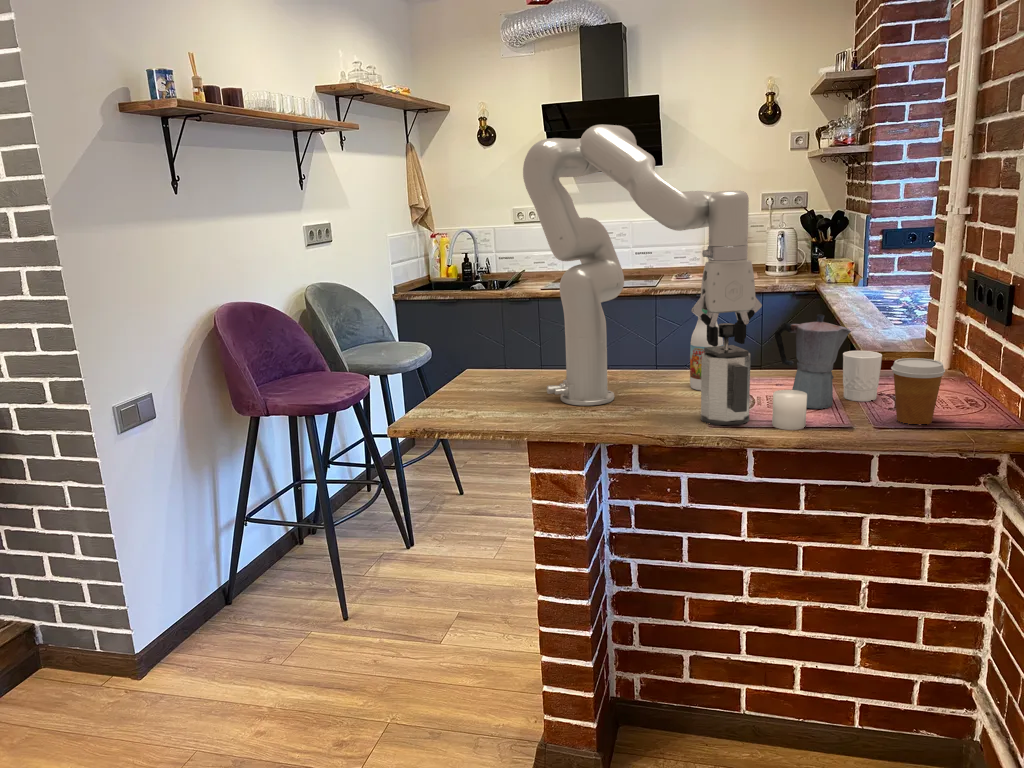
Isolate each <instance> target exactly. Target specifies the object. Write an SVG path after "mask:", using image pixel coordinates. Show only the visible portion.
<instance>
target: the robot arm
mask: <svg viewBox="0 0 1024 768" xmlns="http://www.w3.org/2000/svg"><path fill="white" fill-rule="evenodd" d="M523 161H524V162H523V168H522V178H523V182H524V186H525V189H526V192H527V194H528V196H529V198H530V201H531V202H532V204H533V207H534V208H535V211H536V213H537V216H538V220H539V223H540V225H541V228H542V230H543V233H544V235H545V237H546V241H547V244H548V246H549V248H550V251H551V253H552V254H553V256H554V257H555V259H557V260H558V261H561V262H573V261H574V262H575V261H580V263H579V264H576V265H573V266H571V267H570V268H568V269H567V270H565V272H564V273H563V275H562V276H561V278H560V282H559V294H560V296H559V297H560V300H561V304H562V309H563V317H564V334H565V335H564V336H565V337H564V339H565V340H564V341H565V369H566V370H565V371H566V372H565V373H566V379H562V382H560V383H559V384H558V385H555V384H552V385H551V384H550V385H547V386H546V393H547V394H548V395H549V394H555V396H556V395H560V401H562V402H563V403H565V404H568V405H573V406H585V407H586V406H588V407H589V406H598V405H604V404H608V403H611V402H613V400H614V399H615V393H614V392H613V391H611V390H609V389H608V350H607V349H608V346H607V345H608V344H607V342H608V341H607V339H608V338H607V321H606V320H607V319H606V316H605V313H604V310H603V307H602V303H604V302H608V301H611V300H614V299H616V298H617V297H618V296H619V295H620V294H621V292H623V289H624V286H625V275H624V272H623V267H622V265H621V263H620V260H619V258H618V255H617V253H616V250H615V246H614V244H613V243H612V239H611V237H610V234H609V232H608V231H607V228H606V227H605V226H604V225H603V224H602V223H601V221H599V220H597V219H595V218H593V217H580V215H579V213H578V211H577V209H576V207H575V204H574V202H573V198H572V197H571V195H570V193H569V192H568V190H567V189H566V188H565V187H564V185H563V184H562V182H561V181H560V178H579V177H584V176H589V175H592V174H595V173H599V172H602V173H603V174H604V175H606V176H608V177H609V178H610V179H611V180H613V181H614V182H616V183H617V184H618V185H620V186H621V187H622V188H624V189H625V190H626V191H628V193H629V195H630V197H631V198H632V200H633V202H634V203H635V204H636V205H637V206H638V207H639V208H640V210H642V212H644V213H645V214H647V215H648V216H649V217H651V218H653V220H655V221H656V222H658V223H659V224H661V225H662V226H664V227H666V228H667V229H670V230H672V231H677V232H678V231H679V232H681V231H682V232H683V231H688V230H695V229H702V228H708V246H707V249H703V250H702V252H701V255H702V257H703V258H706V259H707V260H708V261H705V263H704V268H703V272H702V279H701V287H700V297H699V299H698V300H697V301H696V303H695V304H694V305H693V307H692V308H691V313H693V314H694V315H695V316H696V317H697V318H698V317H699V318H700V319H701V320H702V321H703V322H704V324H705V325H707V341H708V344H709V345H712V346H717V345H718V327H716V322H717V323H718V318H719V315H720V314H725V313H734V314H735V316H736V317H735V318H736V322H735V323H734V324H735V334H734V337H733V338H734V342H736V343H738V344H741V345H745V342H746V341H745V340H746V339H747V325H748V324H749V323H750V320H751V319H752V318H753V317H754V316H755V314H756V313H757V312H758V311H760V309H761V308H762V306H763V304H762V303H761V302H760V300H759V299H758V298H757V296H756V285H755V284H756V282H755V273H754V268H753V262H752V260H750V259H749V260H748V246H749V245H748V243H749V209H750V208H749V206H750V204H749V202H750V201H749V200H750V199H749V195H748V193H747V192H746V191H743V190H722V191H721V190H720V191H714V192H713V191H707V190H689V191H681V190H679V189H678V188H676V187H675V186H673V185H672V184H671V183H669V182H668V181H666V180H665V179H664V178H662V177H661V176H660V175H659V174H658V173H657V172H656V171H655V168H656V160H655V158H654V156H653V155H652V154H651V153H649V152H647V150H644V149H643V148H642V147H640V146H639V145H637V139H636V136H635V135H634V133H633V132H632V131H631V130H630V129H629V128H628V127H625V126H622V125H617V124H615V125H614V124H595V125H592V126H589V128H587V129H586V130H585V131H584V132H583V133H582V135H581V138H562V137H552V138H545V139H541V140H539V141H537V142H535V143H534V144H533V145H532V146H531V147H530V148H529V150H528V151H527V153H526V155H525V158H524V160H523ZM702 309H704V310H708V311H707V314H705V313H704V312H703V311H702Z"/></svg>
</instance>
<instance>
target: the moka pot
mask: <svg viewBox="0 0 1024 768" xmlns="http://www.w3.org/2000/svg"><path fill="white" fill-rule="evenodd" d="M824 319H825V315H824V314H823V313H822V314H821V313H819V314H816V321H810V322H802V323H789V322H783V323H782V324H781V325H780V326H779V327H778V328H777V330H775V332H774V339H775V342H776V345H777V348H778V352H779V357H780V360H781V364H782V365H786V366H793V365H794V363H795V361H793V360H788V359H787V356H786V354H785V352H786V351H785V347H784V342H783V338H782V334H783V333H784V332H786V331H787V332H788V333H794V334H795V345H796V346H795V347H796V348H795V349H796V352H795V353H796V355H795V356H796V357H795V358H796V359H797V362H796V366H797V369H796V372H795V377H794V381H793V385H792V388H791V390H798V391H803V392H805V393H807V407H806V409H815V410H817V409H819V410H821V409H822V410H823V408H825V409H829V408H828V407H830V408H831V407H832V406H833V404H834V402H833V401H834V398H833V397H834V395H833V394H834V392H833V391H834V389H833V387H834V386H833V379H834V375H833V368H834V363H836V361H837V357H838V354H839V351H840V349H841V347H842V345H843V343H845V342H844V341H845V340H846V339H847V337H848V336H849V334H850V333H852V331H851V329H849V328H848V327H846V326H841V325H836V324H833V323H829V322H825V321H824Z"/></svg>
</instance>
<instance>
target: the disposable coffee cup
mask: <svg viewBox="0 0 1024 768" xmlns="http://www.w3.org/2000/svg"><path fill="white" fill-rule="evenodd" d="M890 369H891V370H892V373H893V382H894V383H893V384H894V399H895V412H896V413H895V414H896V421H897V420H898V421H897V422H899V421H900V422H899V423H901V422H903V423H902V424H904V423H908V424H907V425H909V424H927V425H931V424H932V422H933V419H934V413H935V408H936V404H937V400H938V395H939V390H940V387H941V384H942V383H941V381H942V378H943V376H944V374H945V373H946V368H944V363H943V362H942V361H939V360H937V359H936V360H935V359H930V358H922V357H921V358H920V357H919V358H918V357H909V358H908V357H907V358H905V357H904V358H899V359H896V360H894V362H893V365H892V366H891V367H890Z"/></svg>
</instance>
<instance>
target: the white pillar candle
mask: <svg viewBox="0 0 1024 768" xmlns="http://www.w3.org/2000/svg"><path fill="white" fill-rule="evenodd" d="M772 394H773V395H772V418H771V419H772V420H771V421H772V422H771V425H772V427H774V428H777V429H780V430H785V431H786V430H788V431H792V430H793V431H795V430H796V431H797V430H802V429H804V427H805V426H806V425H807V408H806V407H807V393H805V392H803V391H798V390H792V389H779V390H778V389H777V390H775V391H773V393H772ZM805 428H806V427H805Z"/></svg>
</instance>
